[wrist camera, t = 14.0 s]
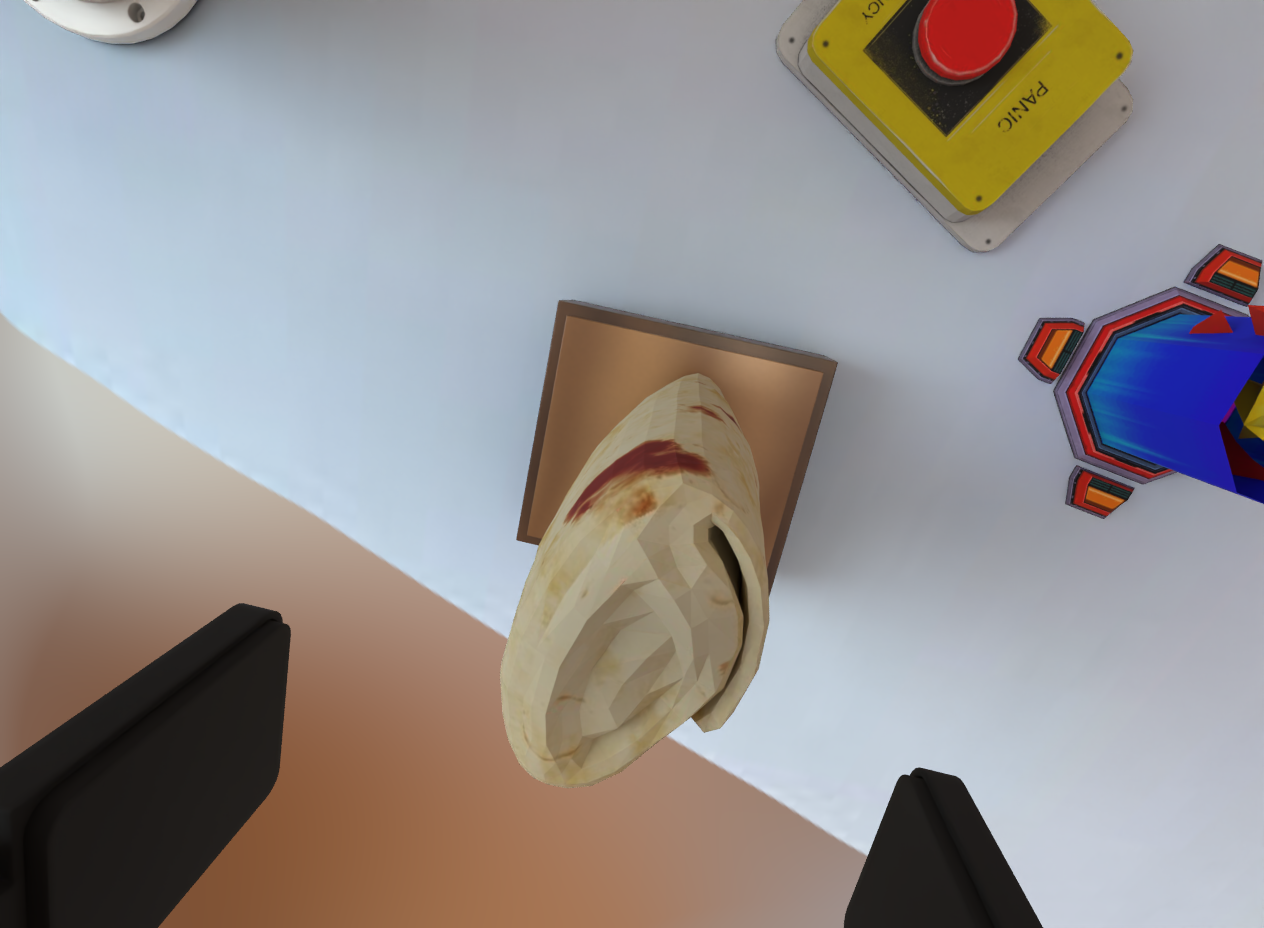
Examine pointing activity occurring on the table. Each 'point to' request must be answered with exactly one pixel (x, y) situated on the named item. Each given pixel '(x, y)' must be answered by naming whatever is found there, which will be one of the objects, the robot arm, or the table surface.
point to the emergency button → (967, 96)
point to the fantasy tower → (1162, 387)
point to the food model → (641, 593)
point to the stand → (648, 361)
